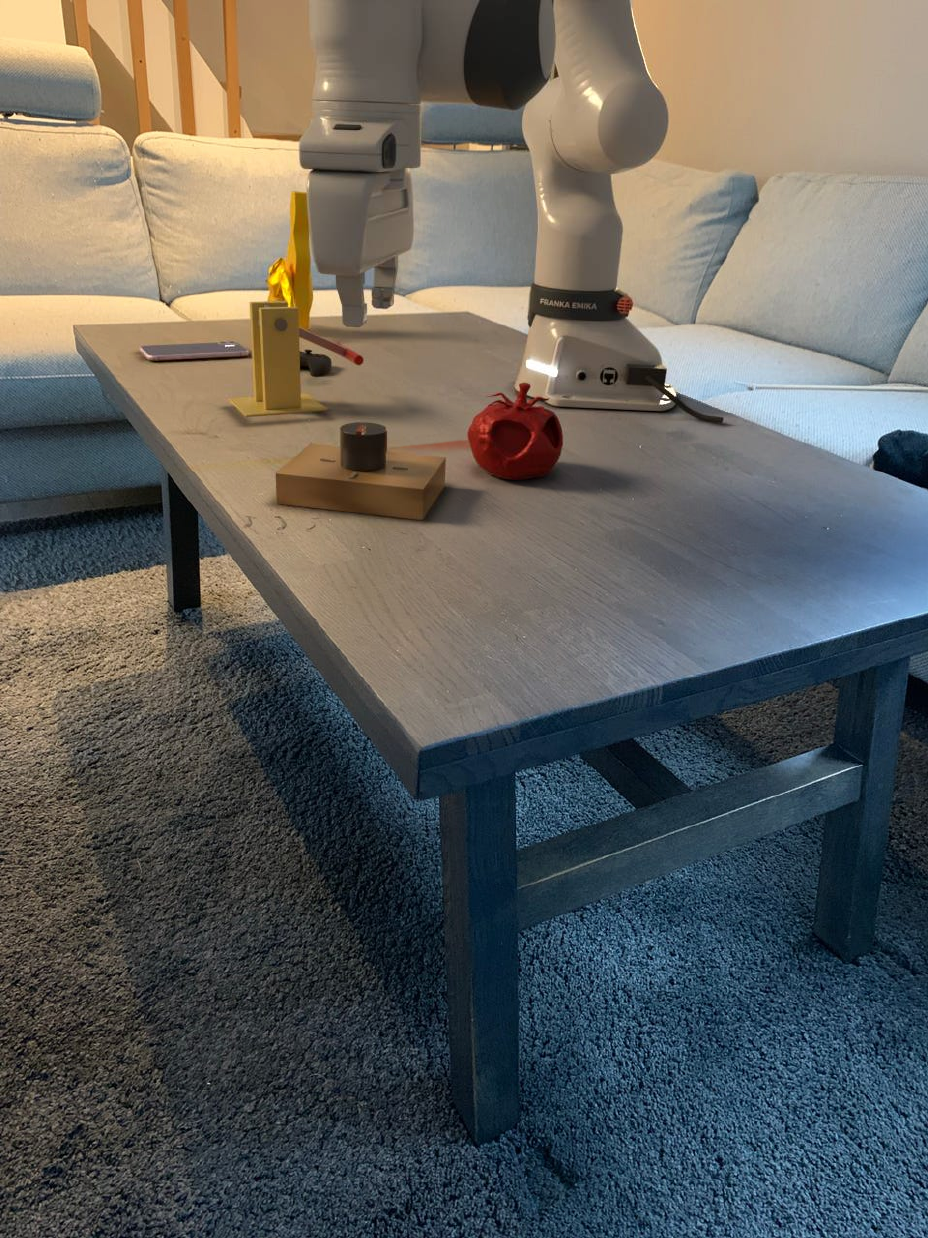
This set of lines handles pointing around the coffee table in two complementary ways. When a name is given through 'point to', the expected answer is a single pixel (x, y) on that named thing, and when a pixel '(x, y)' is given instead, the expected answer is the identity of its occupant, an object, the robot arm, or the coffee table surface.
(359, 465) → the dial knob
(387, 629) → the coffee table surface
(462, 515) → the coffee table surface
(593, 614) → the coffee table surface
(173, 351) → the mobile phone
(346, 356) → the lever
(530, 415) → the red hollowed tomato
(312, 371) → the gaming controller
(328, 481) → the knob base block
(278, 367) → the yellow upright double-plate block
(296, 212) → the figure statuette
